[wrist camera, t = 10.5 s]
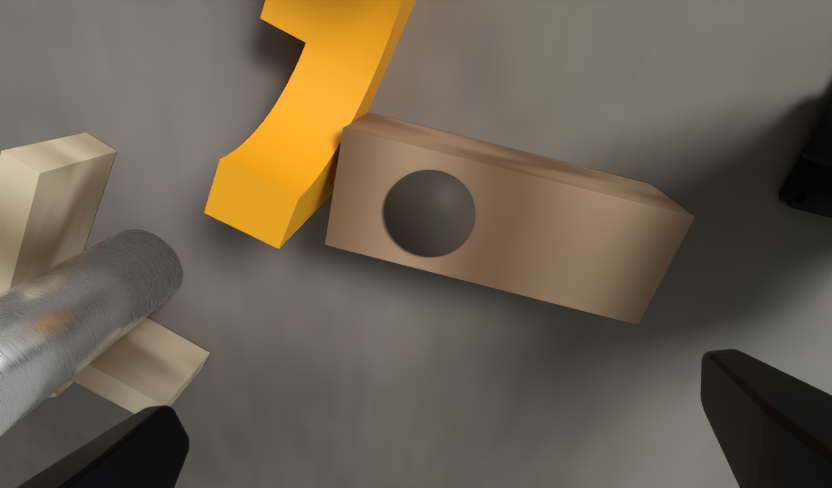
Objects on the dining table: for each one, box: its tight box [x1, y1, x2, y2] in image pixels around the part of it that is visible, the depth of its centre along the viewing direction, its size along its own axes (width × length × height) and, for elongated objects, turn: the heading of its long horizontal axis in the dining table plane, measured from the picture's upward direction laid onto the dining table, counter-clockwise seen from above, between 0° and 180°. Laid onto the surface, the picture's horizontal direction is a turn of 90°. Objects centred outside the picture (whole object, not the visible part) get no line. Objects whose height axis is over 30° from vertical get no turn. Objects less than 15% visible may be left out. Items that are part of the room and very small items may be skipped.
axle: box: [0, 230, 183, 436], centre depth 17 cm, size 4×4×12 cm
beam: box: [325, 113, 695, 325], centre depth 17 cm, size 12×4×4 cm, turn 77°
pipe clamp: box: [204, 0, 416, 249], centre depth 15 cm, size 12×4×6 cm, turn 154°
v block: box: [0, 133, 210, 414], centre depth 22 cm, size 10×13×4 cm
